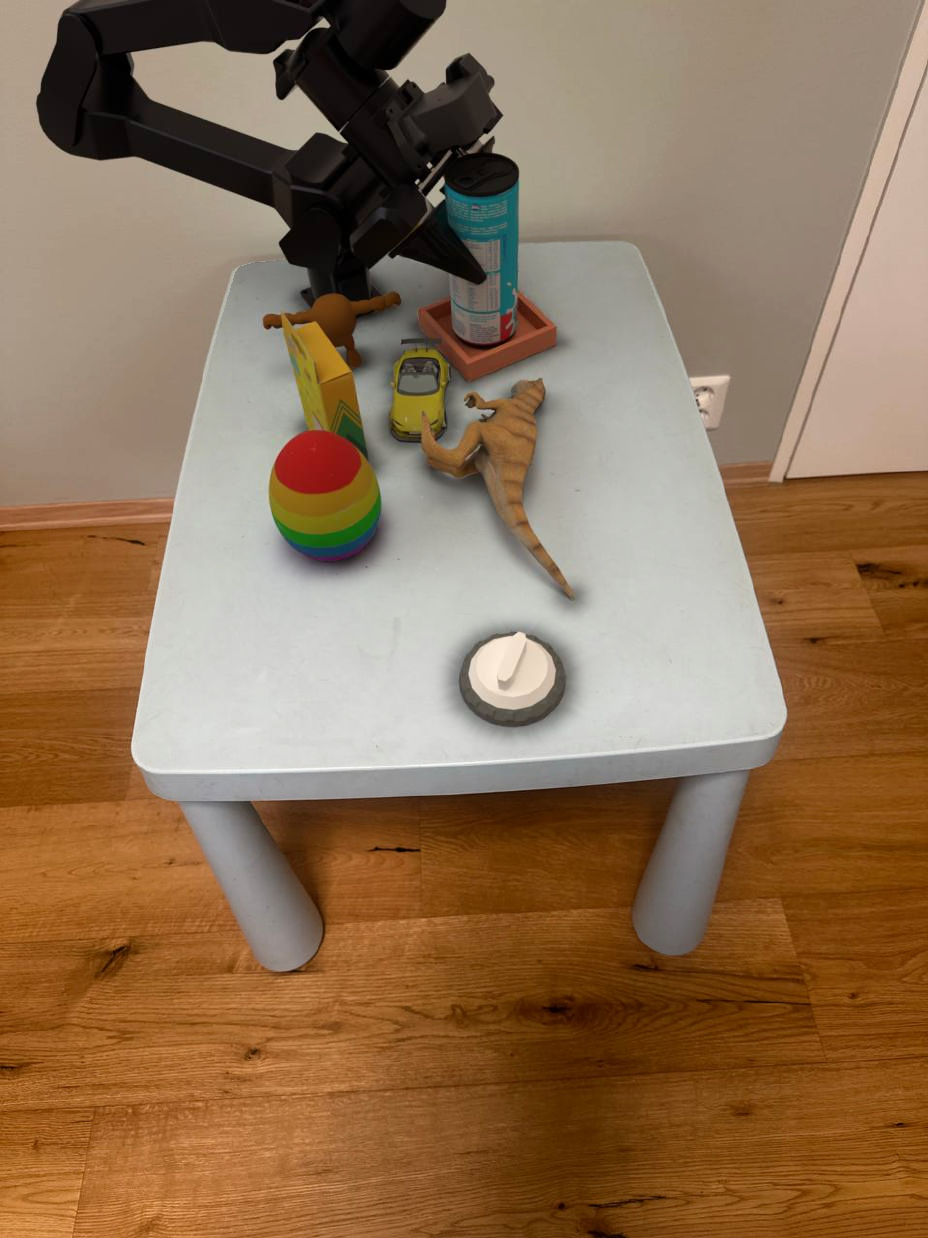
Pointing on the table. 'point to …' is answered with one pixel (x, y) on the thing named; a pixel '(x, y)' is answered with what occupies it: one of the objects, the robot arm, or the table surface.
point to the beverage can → (485, 245)
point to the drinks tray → (477, 362)
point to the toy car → (419, 391)
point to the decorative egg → (324, 496)
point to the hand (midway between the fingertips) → (498, 260)
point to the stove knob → (512, 679)
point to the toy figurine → (337, 319)
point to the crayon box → (324, 383)
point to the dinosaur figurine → (500, 459)
